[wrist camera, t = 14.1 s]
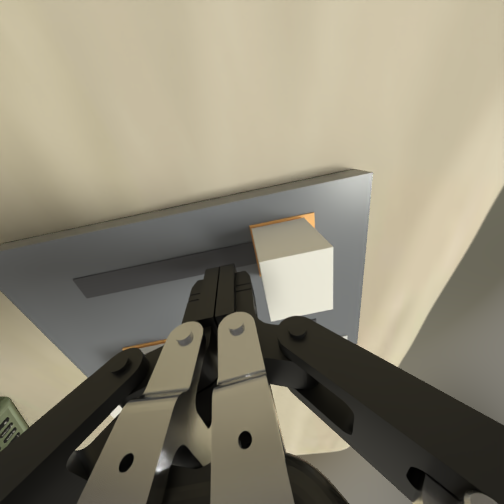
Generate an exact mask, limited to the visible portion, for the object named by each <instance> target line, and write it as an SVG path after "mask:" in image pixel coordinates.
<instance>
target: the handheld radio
mask: <svg viewBox="0 0 504 504" xmlns="http://www.w3.org/2000/svg"><path fill="white" fill-rule="evenodd" d="M28 428H29V427H28V425H27V424H26V422H25V421H24V419H23V418H22V416H21V415H20V413H19V412H18V410H17V409H16V407H15V406H14V404H13V403H12V401H11V400H10V398H9V397H0V452H1V451H2V450H3V449H4V448H5V447H7V446H8V445H9V444H10V443H11V442H13V441H14V440H15V439H16V438H17V437H18V436H20V435H21V434H22V433H23V432H24V431H26V430H27V429H28Z"/></svg>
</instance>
